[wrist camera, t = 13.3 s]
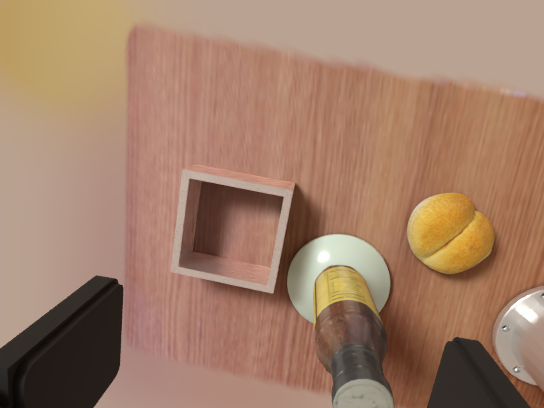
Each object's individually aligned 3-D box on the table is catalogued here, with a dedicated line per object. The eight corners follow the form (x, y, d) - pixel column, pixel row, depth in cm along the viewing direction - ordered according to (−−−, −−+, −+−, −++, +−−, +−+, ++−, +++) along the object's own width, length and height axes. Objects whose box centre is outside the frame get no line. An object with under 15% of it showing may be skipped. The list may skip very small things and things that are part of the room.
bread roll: (447, 177, 40) (461, 183, 37) (499, 234, 41) (518, 246, 37) (387, 225, 42) (395, 236, 38) (438, 280, 43) (451, 296, 39)
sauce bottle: (352, 318, 44) (383, 469, 25) (304, 297, 44) (297, 432, 25) (376, 271, 43) (429, 394, 23) (327, 250, 43) (338, 355, 23)
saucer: (400, 244, 42) (401, 247, 42) (375, 335, 45) (376, 339, 44) (297, 224, 43) (297, 226, 42) (279, 314, 46) (279, 318, 45)
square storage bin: (295, 182, 42) (293, 190, 37) (277, 275, 45) (273, 293, 40) (197, 163, 43) (182, 169, 38) (185, 255, 46) (170, 271, 41)
